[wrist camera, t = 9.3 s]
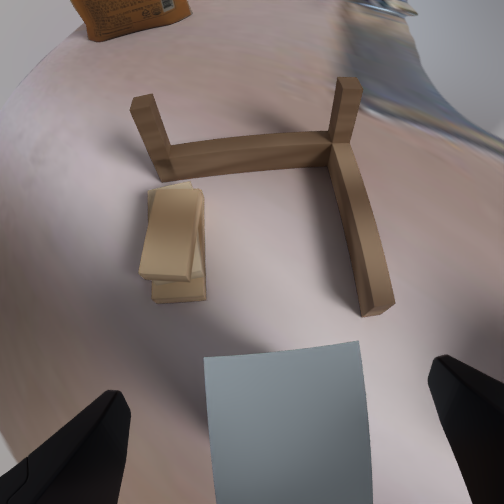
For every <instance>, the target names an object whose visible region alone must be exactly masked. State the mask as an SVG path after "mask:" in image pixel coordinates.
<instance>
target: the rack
mask: <svg viewBox="0 0 504 504" xmlns="http://www.w3.org/2000/svg"><path fill="white" fill-rule="evenodd" d="M362 92H363V88H362V86H361V84H360V82H359V81H358V79H357V78H356V77H337V83H336V89H335V95H334V101H333V107H332V113H331V118H330V124H329V129H328V131H309V132H290V133H274V134H261V135H250V136H240V137H230V138H221V139H213V140H205V141H198V142H190V143H184V144H177V145H170V142H169V139H168V136H167V133H166V131H165V128H164V125H163V122H162V119H161V116H160V114H159V111H158V108H157V105H156V102H155V99H154V96H153V94H148V95H143V96H139V97H134V98H133V100H132V104H131V107H130V112H131V115H132V117H133V119H134V122H135V124H136V126H137V129H138V131H139V133H140V135H141V138H142V140H143V142H144V144H145V147H146V149H147V151H148V153H149V156H150V158H151V160H152V162H153V164H154V167H155V169H156V171H157V173H158V175H159V177H160V180H161V182H162V183H163V182H170V181H177V180H184V179H191V178H199V177H207V176H216V175H225V174H234V173H244V172H254V171H265V170H277V169H290V168H305V167H322V166H328V170H329V174H330V177H331V181H332V185H333V188H334V192H335V196H336V200H337V204H338V208H339V212H340V216H341V220H342V224H343V228H344V232H345V237H346V241H347V245H348V250H349V255H350V259H351V264H352V269H353V274H354V279H355V284H356V289H357V294H358V299H359V305H360V311H361V316H362V317H368V316H374V315H380V314H382V313H383V312H385V311H386V310H387V309H389V308H390V307H391V306H393V305H394V304H395V299H394V294H393V289H392V285H391V280H390V276H389V272H388V268H387V264H386V259H385V255H384V252H383V248H382V244H381V240H380V236H379V233H378V229H377V226H376V222H375V219H374V215H373V212H372V208H371V205H370V202H369V199H368V195H367V192H366V189H365V186H364V183H363V180H362V177H361V174H360V171H359V168H358V165H357V162H356V159H355V156H354V154H353V151H352V148H351V145H350V140H351V136H352V132H353V128H354V124H355V121H356V117H357V113H358V109H359V105H360V101H361V97H362Z"/></svg>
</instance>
